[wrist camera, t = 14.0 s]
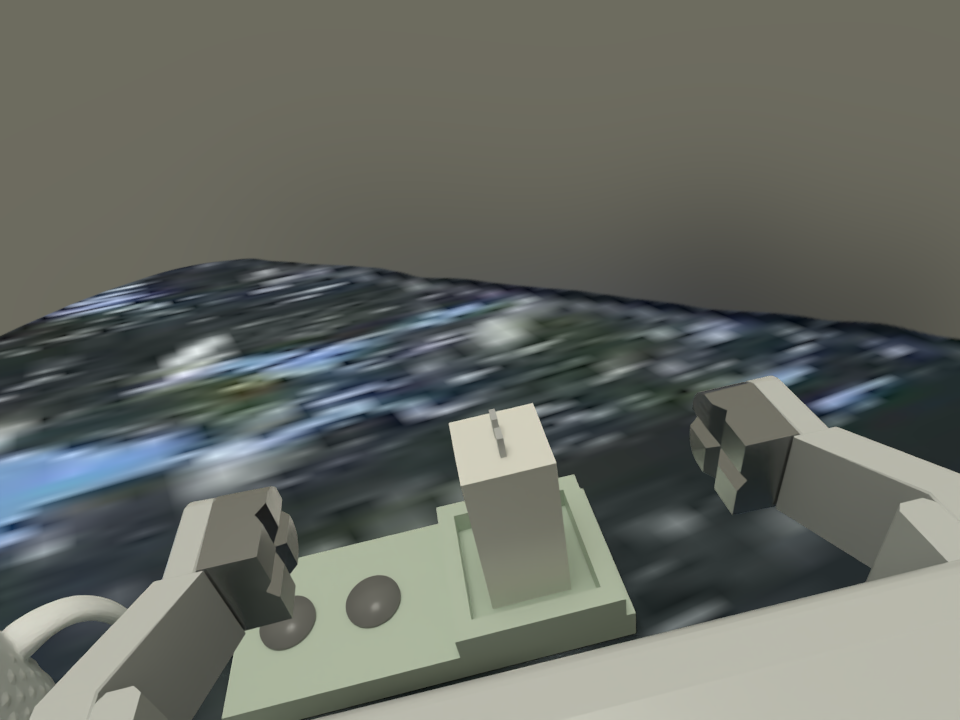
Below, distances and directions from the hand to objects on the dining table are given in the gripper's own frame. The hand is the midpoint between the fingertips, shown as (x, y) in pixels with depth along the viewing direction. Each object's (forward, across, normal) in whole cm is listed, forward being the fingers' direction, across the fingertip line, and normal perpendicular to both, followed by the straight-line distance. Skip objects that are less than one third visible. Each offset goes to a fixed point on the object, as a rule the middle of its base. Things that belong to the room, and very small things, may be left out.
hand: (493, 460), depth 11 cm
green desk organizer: (+13, +4, +24) cm, 27 cm away
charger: (+12, -2, +22) cm, 25 cm away
